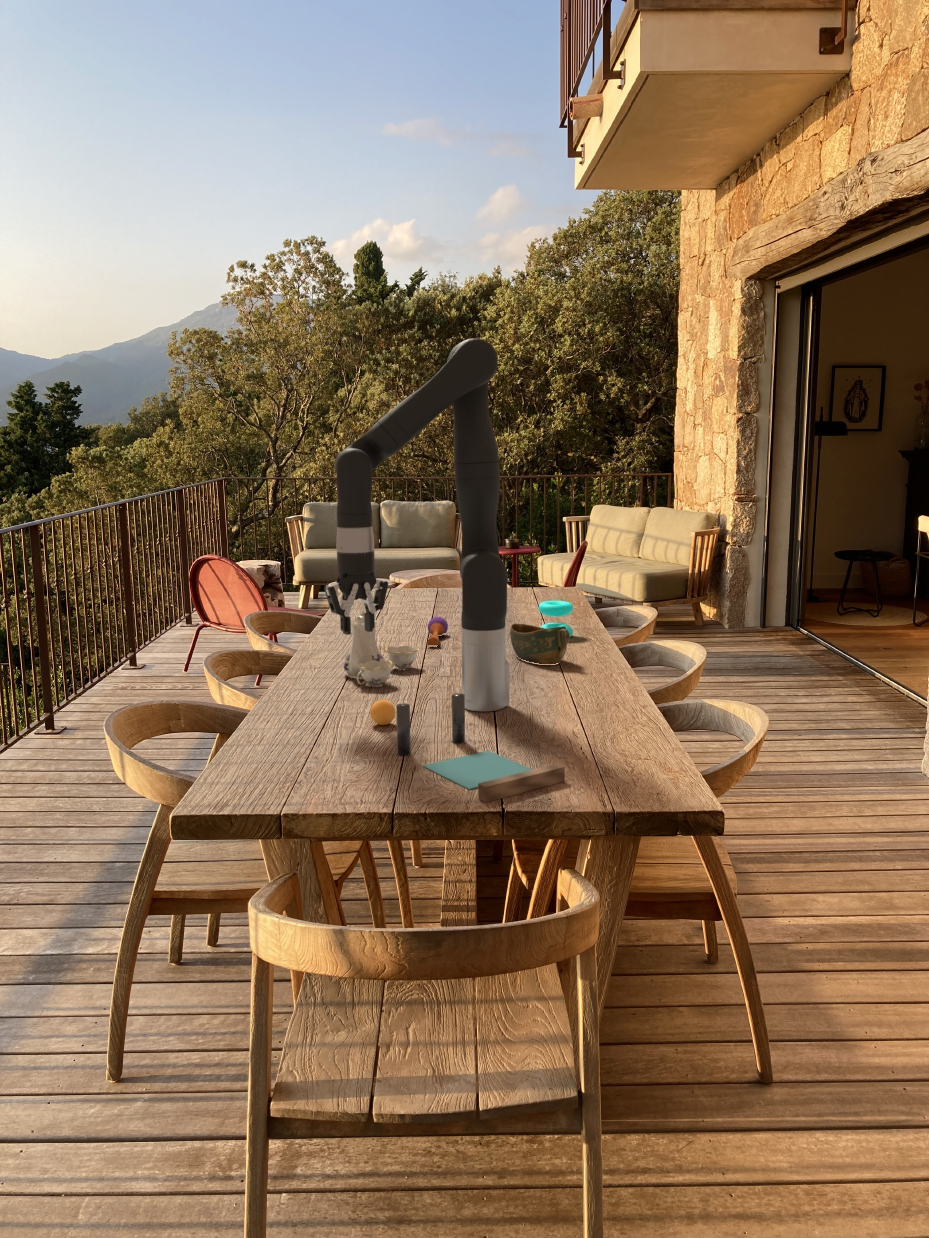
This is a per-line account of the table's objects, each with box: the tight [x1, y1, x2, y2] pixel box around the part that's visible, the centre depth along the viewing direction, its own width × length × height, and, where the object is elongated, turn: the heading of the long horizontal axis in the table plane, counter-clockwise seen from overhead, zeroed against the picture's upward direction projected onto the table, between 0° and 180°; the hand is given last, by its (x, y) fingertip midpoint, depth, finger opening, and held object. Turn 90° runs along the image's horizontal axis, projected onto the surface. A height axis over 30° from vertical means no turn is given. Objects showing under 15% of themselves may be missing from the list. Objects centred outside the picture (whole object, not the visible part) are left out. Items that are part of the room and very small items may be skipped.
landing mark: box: [422, 750, 533, 791], centre depth 161 cm, size 14×14×1 cm
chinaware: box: [342, 609, 420, 688], centre depth 227 cm, size 28×17×17 cm, turn 168°
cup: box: [509, 623, 571, 664], centre depth 242 cm, size 13×20×10 cm, turn 7°
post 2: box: [451, 692, 466, 744], centre depth 175 cm, size 2×2×9 cm
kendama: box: [426, 616, 449, 646], centre depth 269 cm, size 6×6×20 cm
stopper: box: [477, 763, 566, 803], centre depth 151 cm, size 16×2×2 cm, turn 125°
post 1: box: [395, 702, 412, 757], centre depth 169 cm, size 2×2×9 cm
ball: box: [369, 699, 397, 726], centre depth 187 cm, size 5×5×5 cm
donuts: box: [538, 600, 574, 636], centre depth 273 cm, size 10×10×10 cm
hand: (358, 632), depth 192 cm, fingers open, 4 cm apart
